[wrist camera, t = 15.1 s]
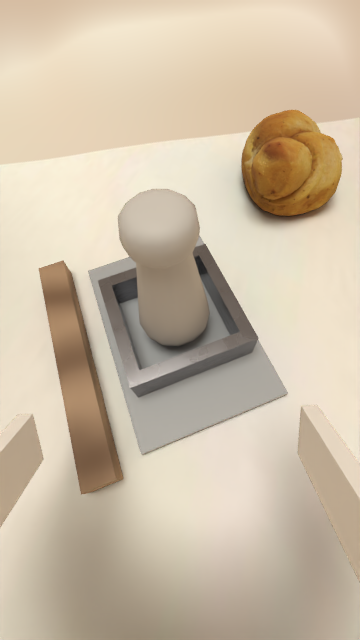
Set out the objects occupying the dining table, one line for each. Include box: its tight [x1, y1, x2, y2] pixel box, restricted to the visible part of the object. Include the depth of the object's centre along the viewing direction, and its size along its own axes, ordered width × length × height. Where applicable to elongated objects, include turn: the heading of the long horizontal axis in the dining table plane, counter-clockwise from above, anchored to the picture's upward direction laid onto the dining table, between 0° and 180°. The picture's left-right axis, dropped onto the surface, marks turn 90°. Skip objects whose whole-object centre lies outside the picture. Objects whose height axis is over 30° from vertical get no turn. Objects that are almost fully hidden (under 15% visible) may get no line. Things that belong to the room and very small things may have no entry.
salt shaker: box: [118, 189, 210, 347], centre depth 20 cm, size 6×6×13 cm
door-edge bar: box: [39, 261, 123, 494], centre depth 25 cm, size 20×2×2 cm, turn 21°
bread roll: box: [242, 110, 343, 216], centre depth 31 cm, size 13×10×8 cm
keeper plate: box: [88, 236, 288, 455], centre depth 25 cm, size 18×12×4 cm, turn 21°
